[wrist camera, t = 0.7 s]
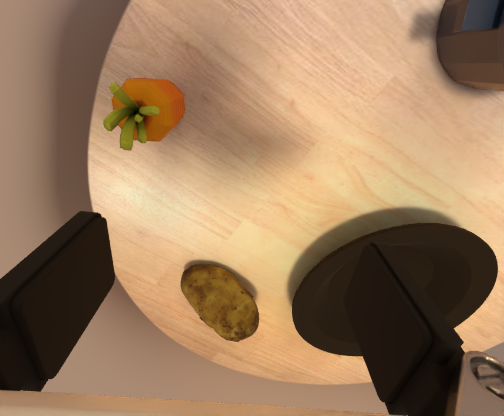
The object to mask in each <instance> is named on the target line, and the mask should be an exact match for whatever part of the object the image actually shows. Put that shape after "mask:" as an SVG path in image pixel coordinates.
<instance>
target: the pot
mask: <svg viewBox="0 0 504 416" xmlns="http://www.w3.org/2000/svg"><path fill="white" fill-rule="evenodd" d="M503 11H504V0H446V2H445V5H444V7H443V10H442V13H441V16H440V20H439V24H438V31H437V51H438V55H439V59H440V62H441V64H442V66H443V68H444V70H445V71H446V72H447V74H448V75H449V76H450V77H451V78H453V79H454V80H455V81H457V82H459V83H461V84H464V85H467V86H470V87H473V88H480V89H489V90H498V91H504V72H503V70H502V66H501V63H500V58H499V50H498V39H499V29H500V22H501V18H502V14H503Z"/></svg>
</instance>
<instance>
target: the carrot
mask: <svg viewBox="0 0 504 416" xmlns="http://www.w3.org/2000/svg"><path fill="white" fill-rule="evenodd" d="M109 89H110V90H111V92H112V94H113V95H114V96H113V97H112V105H113V112H111V113H110V114H109V115H108V116H107V117H106V118H105V119H104V120H103V123H104V127H105V128H106V129H107V130H108V131H112V130H113V129H114V128H115V127H116V126H117V125H118V126H119V127H121V128H122V131H121V135H120V148H122V149H124V150H131V149H132V146H133V139H134V140H138V141H139V142H141V143H146V141H157V142H159V141H161V140H162V139H163V138H164V137H165V136H166V135H167V134H168V133H169V132H170V131H171V129H172V128H173V127H174V126H175V125H176V124H177V123H178V122H179V121H180V120H181V119H182V118H183V117H184V112H185V104H184V94H183V93H182V92H181V91H180V90H179V89H178V88H177V87H176V86H175V85H174V84H173V83H172V82H170V81H168V80H161V79H146V78H134V79H127V80H126V81H125V83H124V84H123V85H122V86H121V87H120V86H119V85H118V84H117V83H116V82H114V83H113V84H111V85H110V87H109Z"/></svg>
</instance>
